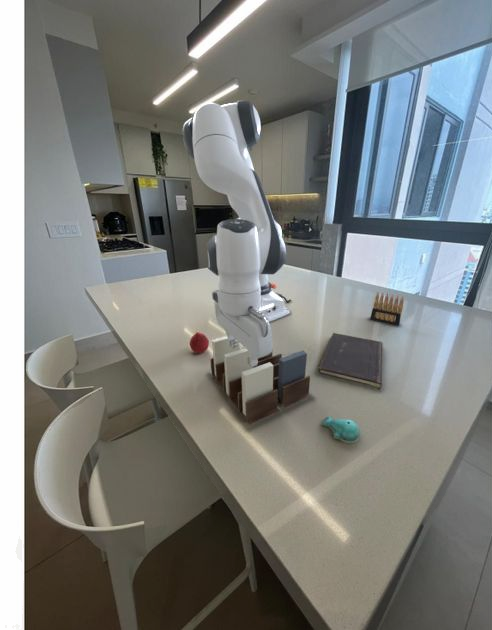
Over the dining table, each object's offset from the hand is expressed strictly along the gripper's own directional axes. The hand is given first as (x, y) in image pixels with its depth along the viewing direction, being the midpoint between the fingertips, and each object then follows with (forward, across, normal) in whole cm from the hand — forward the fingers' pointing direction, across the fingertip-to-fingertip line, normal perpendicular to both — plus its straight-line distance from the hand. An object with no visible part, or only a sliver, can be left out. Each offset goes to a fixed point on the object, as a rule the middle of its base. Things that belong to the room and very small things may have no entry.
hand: (242, 354), depth 62 cm
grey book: (+10, -8, -9) cm, 16 cm away
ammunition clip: (+12, +6, -68) cm, 69 cm away
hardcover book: (+12, -5, -35) cm, 37 cm away
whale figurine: (+11, -22, -11) cm, 27 cm away
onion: (+11, +23, +3) cm, 26 cm away
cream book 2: (+10, 0, +1) cm, 10 cm away
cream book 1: (+10, +8, 0) cm, 13 cm away
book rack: (+11, 0, -4) cm, 12 cm away
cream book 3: (+10, -8, +1) cm, 13 cm away
